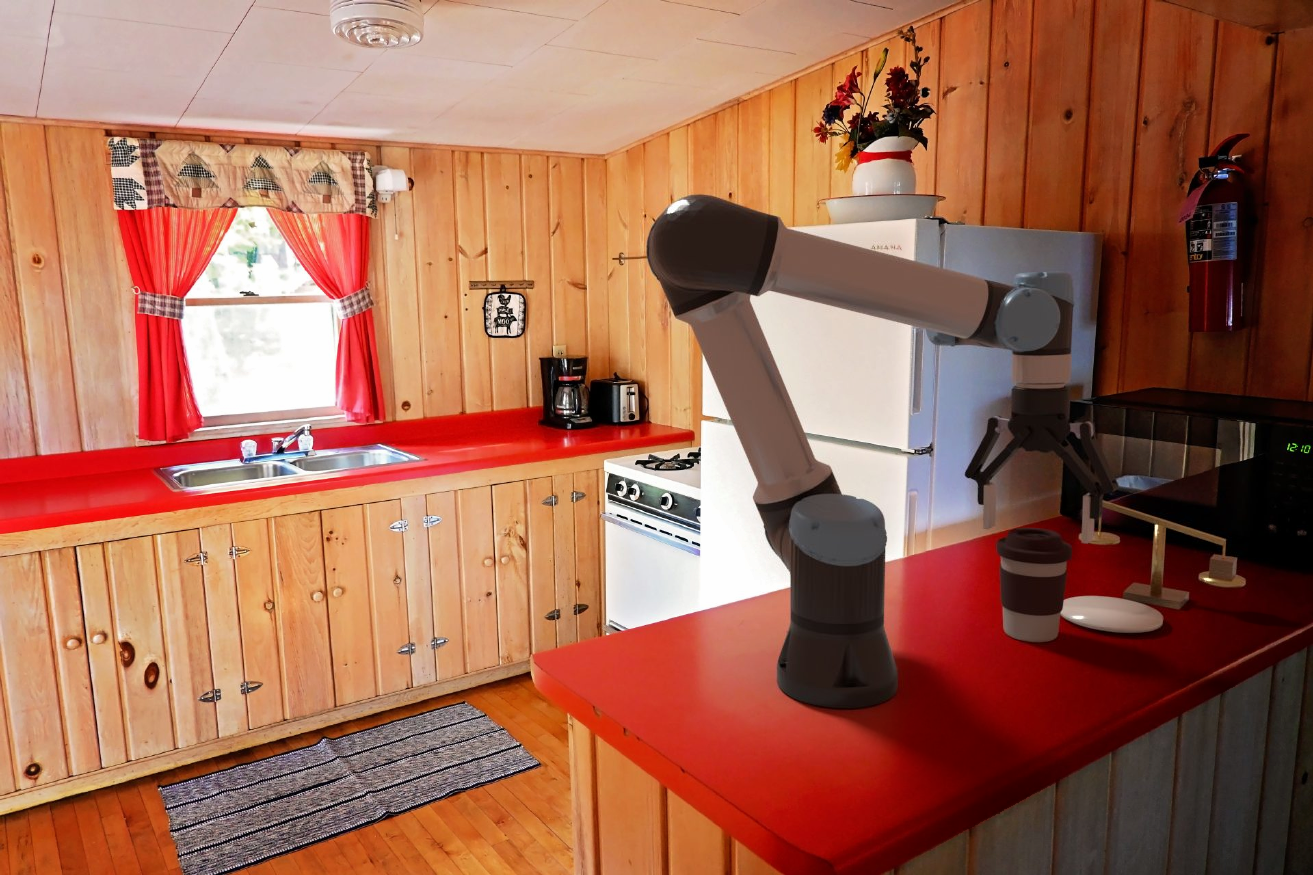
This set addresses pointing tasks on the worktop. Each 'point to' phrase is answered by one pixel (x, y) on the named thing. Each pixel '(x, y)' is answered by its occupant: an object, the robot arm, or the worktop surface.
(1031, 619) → the coffee cup
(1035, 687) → the worktop surface
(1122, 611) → the saucer
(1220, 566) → the balance
